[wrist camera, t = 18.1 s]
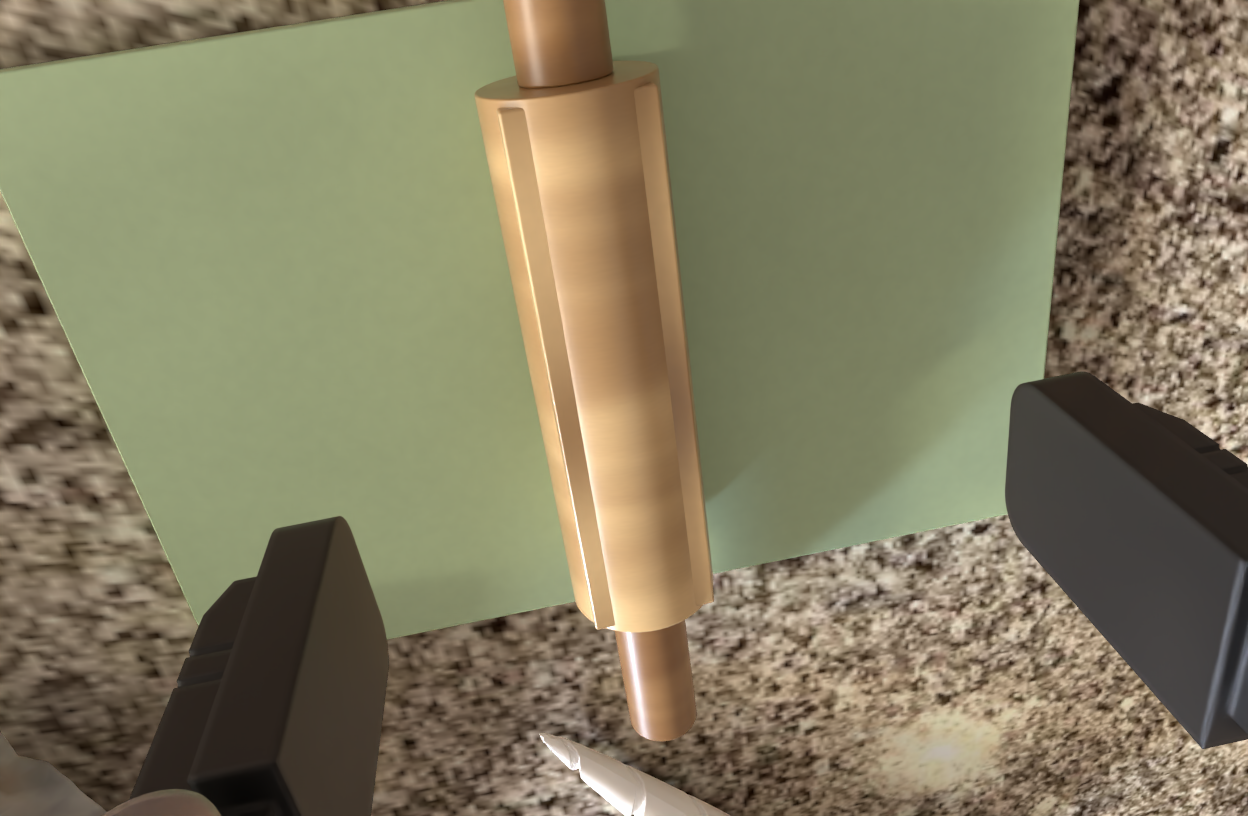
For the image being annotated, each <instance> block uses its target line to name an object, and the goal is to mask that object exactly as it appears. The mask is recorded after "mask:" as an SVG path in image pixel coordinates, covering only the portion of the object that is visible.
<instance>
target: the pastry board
mask: <svg viewBox="0 0 1248 816" xmlns="http://www.w3.org/2000/svg"><path fill="white" fill-rule="evenodd" d="M605 6H606V13H607V21H608V29H609V37H610V44H611V52H612V60H613V61H646V62H651V63H654V64H656V65H657V66H658V68H659V77H660V86H661V95H662V105H663V114H664V123H665V133H666V142H667V151H668V160H669V170H670V179H671V188H672V198H673V207H674V216H675V226H676V235H677V244H678V254H679V263H680V272H681V282H682V291H683V300H684V310H685V319H686V328H687V338H688V347H689V356H690V366H691V375H692V384H693V394H694V403H695V412H696V421H697V431H698V440H699V449H700V459H701V468H702V477H703V487H704V496H705V505H706V515H707V524H708V533H709V543H710V552H711V561H712V571H713V574H715V573H720V572H725V571H729V570H734V569H739V568H744V567H749V566H754V565H759V564H764V563H769V562H774V561H779V560H784V559H789V558H794V557H799V556H804V555H809V554H814V553H819V552H823V551H828V550H833V549H838V548H843V547H848V546H853V545H858V544H863V543H868V542H873V541H878V540H883V539H888V538H893V537H898V536H903V535H908V534H913V533H917V532H922V531H927V530H932V529H937V528H942V527H947V526H952V525H957V524H962V523H967V522H972V521H977V520H982V519H987V518H992V517H997V516H1002V515H1007V514H1008V512H1007V508H1006V502H1005V482H1006V467H1007V452H1008V437H1009V423H1010V408H1011V399H1012V395H1013V393H1014V390H1015V389H1016V388H1017V386H1018V385H1020V384H1022V383H1026V382H1031V381H1036V380H1041V379H1044V374H1045V363H1046V352H1047V342H1048V331H1049V320H1050V310H1051V299H1052V288H1053V277H1054V267H1055V256H1056V245H1057V235H1058V224H1059V213H1060V203H1061V192H1062V181H1063V171H1064V160H1065V149H1066V139H1067V128H1068V117H1069V106H1070V96H1071V85H1072V74H1073V64H1074V53H1075V42H1076V32H1077V21H1078V10H1079V0H605ZM512 76H516V71H515V65H514V60H513V54H512V49H511V43H510V37H509V32H508V26H507V20H506V15H505V9H504V3H503V0H447V1H441V2H434V3H428V4H421V5H415V6H408V7H402V8H395V9H389V10H382V11H376V12H369V13H363V14H356V15H350V16H343V17H337V18H330V19H324V20H317V21H311V22H304V23H298V24H291V25H285V26H278V27H272V28H265V29H259V30H252V31H246V32H239V33H233V34H226V35H220V36H213V37H207V38H200V39H194V40H187V41H181V42H174V43H168V44H161V45H155V46H148V47H142V48H135V49H129V50H122V51H116V52H109V53H103V54H96V55H90V56H83V57H77V58H70V59H64V60H57V61H51V62H44V63H38V64H31V65H25V66H18V67H12V68H5V69H0V191H1V194H2V196H3V198H4V200H5V202H6V205H7V207H8V209H9V211H10V213H11V216H12V218H13V220H14V222H15V224H16V227H17V229H18V231H19V233H20V235H21V238H22V240H23V242H24V244H25V246H26V249H27V251H28V253H29V255H30V257H31V260H32V262H33V264H34V266H35V268H36V271H37V273H38V275H39V277H40V279H41V282H42V284H43V286H44V288H45V290H46V293H47V295H48V297H49V299H50V301H51V304H52V306H53V308H54V310H55V312H56V315H57V317H58V319H59V321H60V323H61V326H62V328H63V330H64V332H65V334H66V337H67V339H68V341H69V343H70V345H71V348H72V350H73V352H74V354H75V356H76V359H77V361H78V363H79V365H80V367H81V369H82V372H83V374H84V376H85V378H86V380H87V383H88V385H89V387H90V389H91V391H92V394H93V396H94V398H95V400H96V402H97V405H98V407H99V409H100V411H101V413H102V416H103V418H104V420H105V422H106V424H107V427H108V429H109V431H110V433H111V435H112V438H113V440H114V442H115V444H116V446H117V449H118V451H119V453H120V455H121V457H122V460H123V462H124V464H125V466H126V468H127V471H128V473H129V475H130V477H131V479H132V482H133V484H134V486H135V488H136V490H137V493H138V495H139V497H140V499H141V501H142V504H143V506H144V508H145V510H146V512H147V515H148V517H149V519H150V521H151V523H152V526H153V528H154V530H155V532H156V534H157V537H158V539H159V541H160V543H161V545H162V548H163V550H164V552H165V554H166V556H167V559H168V561H169V563H170V565H171V567H172V570H173V572H174V574H175V576H176V578H177V581H178V583H179V585H180V587H181V589H182V592H183V594H184V596H185V598H186V600H187V603H188V605H189V607H190V609H191V611H192V614H193V616H194V618H195V620H196V622H197V624H198V627H199V624H200V622H201V620H202V617H203V615H204V614H205V613H206V612H207V610H208V609H209V608H210V607H211V606H212V605H213V604H214V603H215V602H216V601H217V599H218V598H219V597H220V596H221V595H222V594H223V593H224V592H225V591H226V589H227V588H228V587H229V586H230V585H231V584H232V583H233V582H234V581H236V580H241V579H246V578H251V577H256V576H257V574H258V571H259V568H260V566H261V563H262V560H263V557H264V554H265V551H266V548H267V545H268V542H269V539H270V536H271V534H272V532H273V531H274V530H275V529H276V528H281V527H286V526H291V525H296V524H301V523H306V522H311V521H316V520H321V519H326V518H331V517H336V516H342V517H343V518H344V519H345V520H346V521H347V523H348V524H349V527H350V529H351V531H352V534H353V536H354V539H355V542H356V545H357V548H358V551H359V553H360V556H361V559H362V562H363V565H364V568H365V571H366V573H367V576H368V579H369V582H370V585H371V588H372V590H373V593H374V596H375V599H376V602H377V605H378V607H379V610H380V613H381V616H382V619H383V623H384V627H385V632H386V637H387V640H388V639H393V638H398V637H403V636H408V635H413V634H418V633H423V632H428V631H433V630H438V629H443V628H447V627H452V626H457V625H462V624H467V623H472V622H477V621H482V620H487V619H492V618H497V617H502V616H507V615H512V614H517V613H522V612H527V611H532V610H537V609H541V608H546V607H551V606H556V605H561V604H566V603H571V602H576V601H575V597H574V592H573V587H572V582H571V577H570V572H569V567H568V562H567V557H566V552H565V547H564V542H563V537H562V532H561V527H560V522H559V517H558V512H557V507H556V502H555V497H554V492H553V487H552V482H551V477H550V472H549V467H548V462H547V457H546V452H545V447H544V442H543V437H542V432H541V427H540V422H539V417H538V412H537V407H536V402H535V397H534V392H533V387H532V382H531V377H530V372H529V367H528V362H527V357H526V352H525V347H524V342H523V337H522V332H521V327H520V322H519V317H518V312H517V307H516V302H515V297H514V292H513V287H512V282H511V277H510V272H509V267H508V262H507V257H506V252H505V247H504V242H503V237H502V232H501V227H500V222H499V217H498V212H497V207H496V202H495V197H494V192H493V187H492V182H491V177H490V172H489V167H488V162H487V157H486V152H485V147H484V142H483V137H482V132H481V127H480V122H479V117H478V112H477V107H476V102H475V97H474V96H475V92H476V91H477V90H478V89H480V88H481V87H483V86H485V85H487V84H490V83H492V82H495V81H498V80H501V79H505V78H508V77H512Z"/></svg>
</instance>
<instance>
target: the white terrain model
mask: <svg viewBox="0 0 1248 816" xmlns="http://www.w3.org/2000/svg"><path fill="white" fill-rule="evenodd" d="M104 813H106V811H105V810H104V809H103V808H102V807H101V806H100V805H98V804H97V803H96V802H94V801H93V800H92V799H91V798H89V797H88V796H86V795H85V794H84V793H83V792H81V791H80V790H79V789H78V788H77V787H76V785H75V784H74V783H73V782H72V781H71V780H70V779H69V778H67V777H66V776H64V775H63V774H61V773H60V772H59V771H58V770H57V769H56V768H55V767H53V766H52V765H51V764H50V763H48V762H46V761H41V760H35V759H30V758H28V757H24V756H22V757H20V756H19V755H17V753H16V752H15V750H14V749H13V748H12V746H11V745H10V744H9V742H8V741H7V740H6V738H5V737H4V736H3V734H2V733H1V731H0V816H101V815H103V814H104Z"/></svg>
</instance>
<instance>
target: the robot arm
mask: <svg viewBox="0 0 1248 816" xmlns="http://www.w3.org/2000/svg"><path fill="white" fill-rule="evenodd" d="M1005 502H1006V508H1007V512H1008V516H1009V519H1010V522H1011V525H1012V527H1013V529H1014V531H1015V533H1016V535H1017V537H1018V538H1019V540H1020V541H1021V543H1022V544H1023V545H1024V546H1025V547H1026V548H1027V550H1028V551H1029V552H1030V553H1031V554H1032V555H1033V556H1034V558H1035V559H1036V560H1037V561H1038V562H1039V563H1040V564H1041V566H1042V567H1043V568H1044V569H1045V570H1046V571H1047V572H1048V574H1049V575H1050V576H1051V577H1052V578H1053V579H1054V580H1055V582H1056V583H1057V584H1058V585H1059V586H1060V587H1061V588H1062V590H1063V591H1064V592H1065V593H1066V594H1067V595H1068V596H1069V597H1070V599H1071V600H1072V601H1073V602H1074V603H1075V604H1076V605H1077V607H1078V608H1079V609H1080V610H1081V611H1082V612H1083V613H1084V615H1085V616H1086V617H1087V618H1088V619H1089V620H1090V621H1091V623H1092V624H1093V625H1094V626H1095V627H1096V628H1097V629H1098V631H1099V632H1100V633H1101V634H1102V635H1103V636H1104V637H1105V638H1106V640H1107V641H1108V642H1109V643H1110V644H1111V645H1112V646H1113V648H1114V649H1115V650H1116V651H1117V652H1118V653H1119V654H1120V656H1121V657H1122V658H1123V659H1124V660H1125V661H1126V662H1127V664H1128V665H1129V666H1130V667H1131V668H1132V669H1133V670H1134V672H1135V673H1136V674H1137V675H1138V676H1139V677H1140V678H1141V679H1142V681H1143V682H1144V683H1145V684H1146V685H1147V686H1148V687H1149V689H1150V690H1151V691H1152V692H1153V693H1154V694H1155V695H1156V697H1157V698H1158V699H1159V700H1160V701H1161V702H1162V703H1163V705H1164V706H1165V707H1166V708H1167V709H1168V710H1169V711H1170V713H1171V714H1172V715H1173V716H1174V717H1175V718H1176V719H1177V720H1178V722H1179V723H1180V724H1181V725H1182V726H1183V727H1184V728H1185V730H1186V731H1187V732H1188V733H1189V734H1190V735H1191V736H1192V738H1193V739H1194V740H1195V741H1196V742H1197V743H1198V744H1199V746H1200V747H1201V748H1202V749H1206V748H1210V747H1215V746H1219V745H1224V744H1228V743H1233V742H1237V741H1242V740H1246V739H1248V467H1247V464H1246V463H1245V462H1243V461H1242V460H1240V459H1239V458H1237V457H1236V456H1235V455H1233V454H1232V453H1230V452H1229V451H1228V450H1226V449H1223V450H1220V449H1219V444H1218V443H1216V442H1215V441H1213V440H1212V439H1210V438H1209V437H1208V436H1206V435H1205V434H1203V433H1202V432H1200V431H1199V430H1198V429H1196V428H1195V427H1193V426H1192V425H1190V424H1189V423H1188V422H1186V421H1185V420H1183V419H1180V418H1177V417H1175V416H1172V415H1169V414H1167V413H1164V412H1161V411H1159V410H1156V409H1153V408H1151V407H1148V406H1145V405H1143V404H1140V403H1133V404H1132V403H1130V402H1129V401H1128V400H1126V399H1125V398H1124V397H1122V396H1121V395H1120V394H1118V393H1117V392H1115V391H1114V390H1113V389H1111V388H1110V387H1109V386H1107V385H1106V384H1104V383H1103V382H1102V381H1100V380H1099V379H1098V378H1096V377H1095V376H1093V375H1092V374H1090V373H1087V372H1077V373H1072V374H1066V375H1061V376H1056V377H1051V378H1046V379H1041V380H1036V381H1031V382H1026V383H1022V384H1020V385H1018V386H1017V388H1016V389H1015V390H1014V393H1013V395H1012V399H1011V408H1010V423H1009V437H1008V452H1007V467H1006V482H1005ZM189 653H190V658H186V659H185V662H184V664H183V667H182V669H181V672H180V674H179V677H178V679H177V683H178V688H175V689H173V692H172V694H171V697H170V699H169V702H168V704H167V707H166V709H165V712H164V714H163V717H162V719H161V722H160V724H159V727H158V729H157V732H156V734H155V737H154V739H153V742H152V744H151V747H150V749H149V752H148V754H147V757H146V759H145V762H144V764H143V766H142V769H141V771H140V774H139V776H138V779H137V781H136V784H135V786H134V789H133V791H132V794H131V796H130V799H129V800H128V801H126V802H124V803H122V804H120V805H118V806H116V807H114V808H113V809H111V810H109V811H108V812H106V813H104V814H103V815H101V816H371V810H372V801H373V793H374V785H375V777H376V769H377V761H378V753H379V744H380V736H381V728H382V720H383V712H384V704H385V695H386V687H387V679H388V670H389V655H388V644H387V637H386V632H385V627H384V623H383V619H382V616H381V613H380V610H379V607H378V605H377V602H376V599H375V596H374V593H373V590H372V588H371V585H370V582H369V579H368V576H367V573H366V571H365V568H364V565H363V562H362V559H361V556H360V553H359V551H358V548H357V545H356V542H355V539H354V536H353V534H352V531H351V529H350V527H349V524H348V523H347V521H346V520H345V519H344V518H343V517H342V516H336V517H331V518H326V519H321V520H316V521H311V522H306V523H301V524H296V525H291V526H286V527H281V528H276V529H275V530H274V531H273V532H272V534H271V536H270V539H269V542H268V545H267V548H266V551H265V554H264V557H263V560H262V563H261V566H260V568H259V571H258V574H257V576H256V577H251V578H246V579H241V580H236V581H234V582H233V583H232V584H231V585H230V586H229V587H228V588H227V589H226V591H225V592H224V593H223V594H222V595H221V596H220V597H219V598H218V599H217V601H216V602H215V603H214V604H213V605H212V606H211V607H210V608H209V609H208V610H207V612H206V613H205V614H204V615H203V617H202V620H201V622H200V624H199V627H198V629H197V632H196V634H195V637H194V639H193V642H192V644H191V647H190V649H189Z"/></svg>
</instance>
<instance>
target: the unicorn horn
mask: <svg viewBox="0 0 1248 816" xmlns="http://www.w3.org/2000/svg"><path fill="white" fill-rule="evenodd" d="M539 734H540V738H541V739H542V741H543V742H544V743H545V744H546V745H547V746H548V747H549V748H550V750H551V751H552V752H553V753H554V754H555V755H556V756H557V757H558V758H559V759H560V760H561V761H562V762H563V763H564V764H566V765H567V766H568V767H569V768H570V769H571V770H576V769H578V768H579V771H580V776H581V779H582V780H584V781H585V782H586V783H587V784H588V785H589V786H590V787H592V788H593V789H594V790H595V791H596V792H598V793H599V794H600V795H601V796H602V797H603V798H605V799H606V800H607V801H608V802H609V803H611V804H612V805H613V806H614V807H615V808H617V809H618V810H619V811H620V812H621V813H623V814H624V815H625V816H631V815H632V814H634V815H635V816H731V815H729V814H727V813H725V812H723V811H721V810H719V809H717V808H715V807H714V806H712V805H710V804H708V803H706V802H704V801H702V800H700V799H698V798H696V797H693V796H691V795H688V794H686V793H685V792H684V791H681V790H679V789H677V788H675V787H673V786H671V785H669V784H667V783H665V782H663V781H661V780H659V779H657V778H655V777H652V776H650V775H648V774H646V773H644V772H642V771H640V770H637V769H635V768H633V767H631V766H629V765H626V764H623V763H622V762H620V761H618V760H616V759H614V758H611V757H609V756H607V755H605V754H602V753H600V752H598V751H595V750H593V749H591V748H588V747H586V746H584V745H581V744H579V743H576V742H574V741H571V740H568V739H566V738H563V737H560V736H554V735H552V734H549V733H539Z"/></svg>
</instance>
